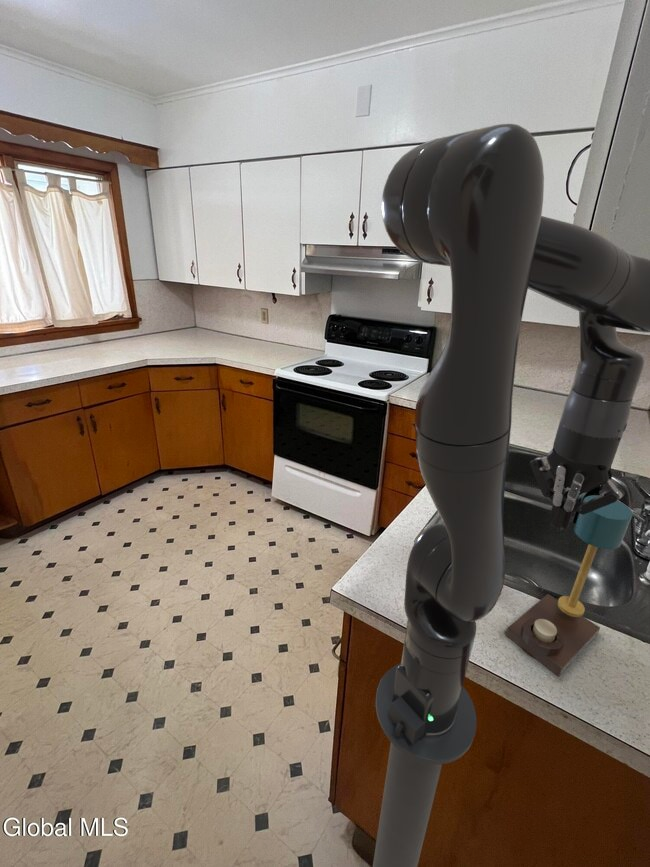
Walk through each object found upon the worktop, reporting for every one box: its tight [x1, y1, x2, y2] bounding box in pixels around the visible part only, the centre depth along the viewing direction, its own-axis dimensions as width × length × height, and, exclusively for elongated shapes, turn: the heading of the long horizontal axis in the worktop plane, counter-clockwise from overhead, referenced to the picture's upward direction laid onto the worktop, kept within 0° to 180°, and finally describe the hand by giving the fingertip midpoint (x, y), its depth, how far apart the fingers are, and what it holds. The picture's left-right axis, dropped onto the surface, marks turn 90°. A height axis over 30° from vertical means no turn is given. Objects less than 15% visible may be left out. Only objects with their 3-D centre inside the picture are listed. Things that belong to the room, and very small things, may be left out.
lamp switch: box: [532, 619, 557, 643], centre depth 75 cm, size 4×4×2 cm
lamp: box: [557, 494, 634, 617], centre depth 75 cm, size 7×7×23 cm
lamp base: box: [505, 593, 601, 677], centre depth 78 cm, size 15×10×4 cm
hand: (558, 526), depth 65 cm, fingers closed
